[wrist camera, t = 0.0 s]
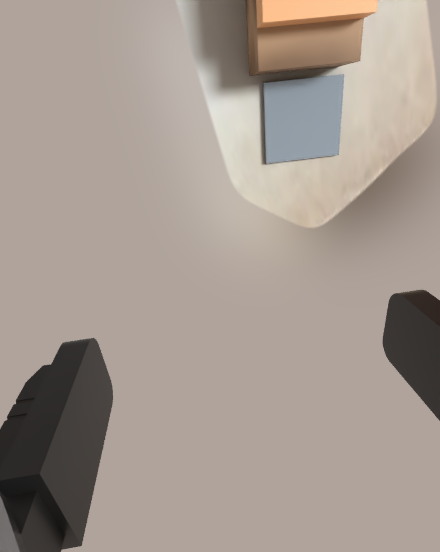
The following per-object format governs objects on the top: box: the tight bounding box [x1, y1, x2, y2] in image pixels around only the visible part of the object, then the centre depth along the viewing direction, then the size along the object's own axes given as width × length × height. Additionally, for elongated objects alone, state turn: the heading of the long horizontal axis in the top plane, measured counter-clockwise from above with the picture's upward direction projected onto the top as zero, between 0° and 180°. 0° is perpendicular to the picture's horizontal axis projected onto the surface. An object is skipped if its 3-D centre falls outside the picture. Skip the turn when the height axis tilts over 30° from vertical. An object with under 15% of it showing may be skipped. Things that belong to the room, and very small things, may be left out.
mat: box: [263, 74, 344, 164], centre depth 34 cm, size 8×8×1 cm
